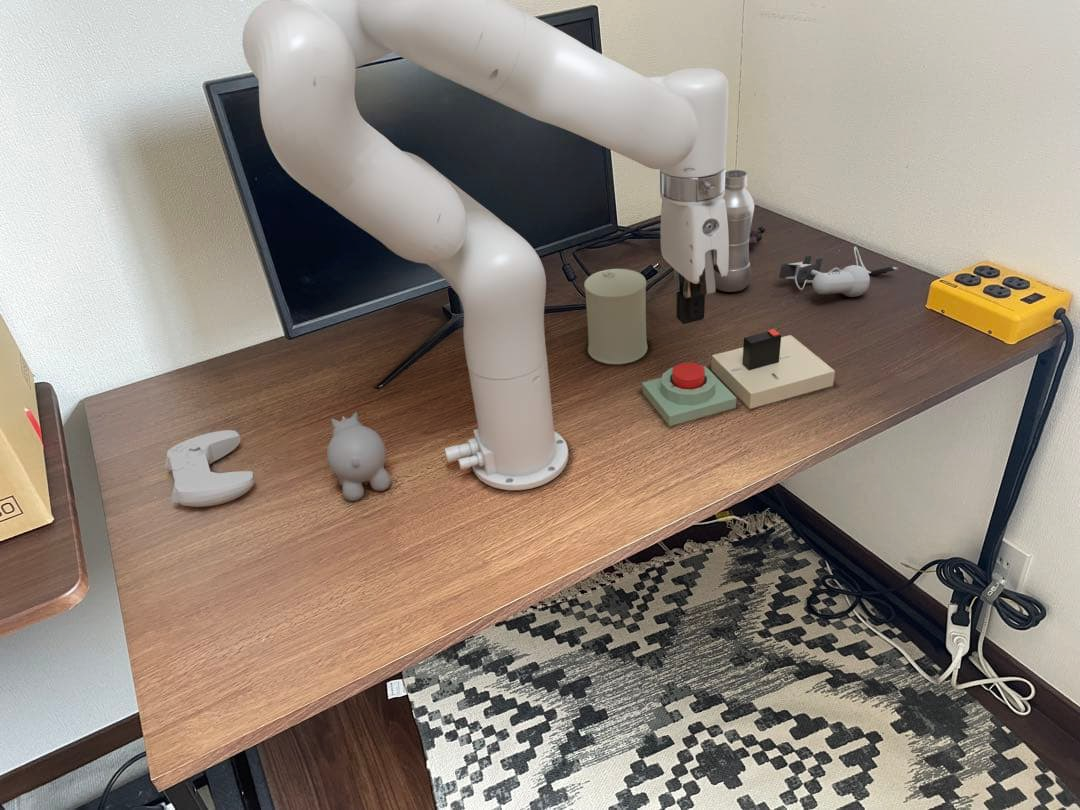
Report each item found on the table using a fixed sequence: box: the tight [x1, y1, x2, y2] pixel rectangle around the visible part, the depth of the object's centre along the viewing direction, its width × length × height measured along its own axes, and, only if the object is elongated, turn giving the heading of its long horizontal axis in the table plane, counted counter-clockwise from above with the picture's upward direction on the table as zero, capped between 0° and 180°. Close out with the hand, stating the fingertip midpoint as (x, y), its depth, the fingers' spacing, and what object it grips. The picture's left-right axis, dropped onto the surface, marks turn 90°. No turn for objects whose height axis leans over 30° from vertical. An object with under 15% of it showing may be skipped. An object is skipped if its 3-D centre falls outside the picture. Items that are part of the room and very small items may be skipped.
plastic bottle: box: [714, 169, 755, 293], centre depth 133 cm, size 6×7×20 cm
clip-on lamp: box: [778, 246, 899, 298], centre depth 134 cm, size 12×6×18 cm
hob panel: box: [710, 334, 836, 410], centre depth 114 cm, size 13×11×3 cm
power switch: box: [641, 365, 738, 427], centre depth 112 cm, size 10×9×4 cm
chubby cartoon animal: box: [326, 411, 392, 502], centre depth 103 cm, size 7×12×8 cm, turn 21°
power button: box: [672, 361, 705, 389], centre depth 110 cm, size 4×4×2 cm
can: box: [583, 268, 648, 365], centre depth 122 cm, size 9×9×12 cm
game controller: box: [164, 429, 255, 508], centre depth 106 cm, size 14×4×10 cm
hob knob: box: [742, 328, 782, 370], centre depth 113 cm, size 5×2×5 cm, turn 109°
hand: (690, 318), depth 105 cm, fingers closed
